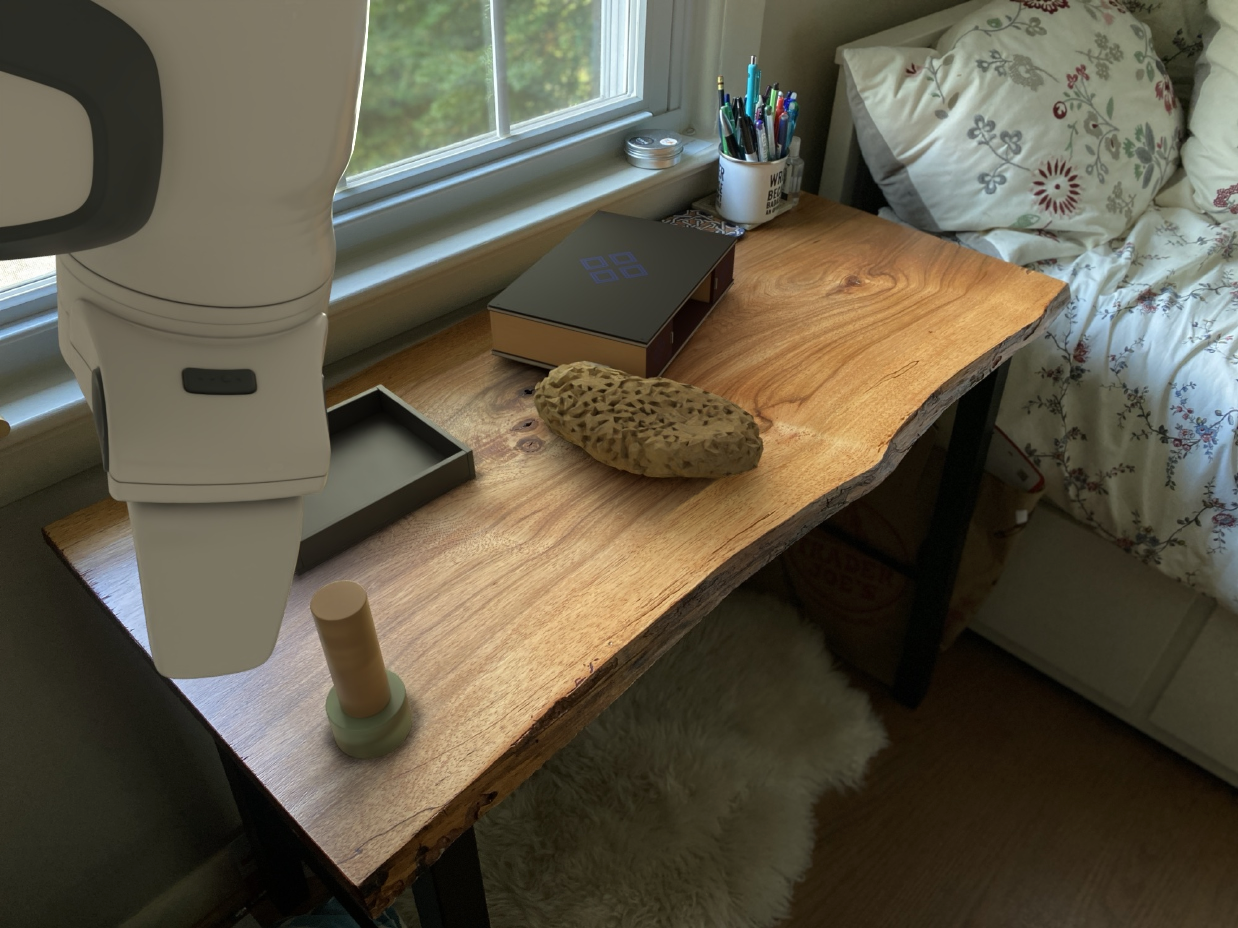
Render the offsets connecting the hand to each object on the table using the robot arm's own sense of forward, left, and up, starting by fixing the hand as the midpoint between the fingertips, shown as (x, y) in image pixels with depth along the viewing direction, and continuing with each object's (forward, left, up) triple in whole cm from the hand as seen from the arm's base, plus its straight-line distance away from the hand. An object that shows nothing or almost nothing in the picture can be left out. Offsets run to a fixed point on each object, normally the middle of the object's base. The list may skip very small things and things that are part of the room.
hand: (181, 571), depth 42 cm
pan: (+20, +26, -22) cm, 39 cm away
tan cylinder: (+8, +3, -22) cm, 23 cm away
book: (+56, +29, -22) cm, 66 cm away
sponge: (+42, +11, -22) cm, 48 cm away
